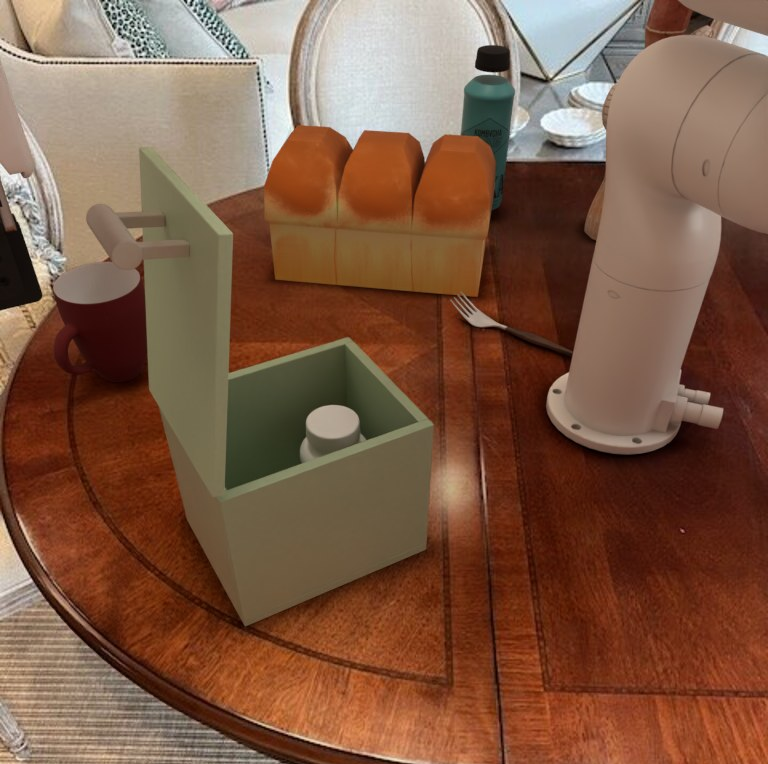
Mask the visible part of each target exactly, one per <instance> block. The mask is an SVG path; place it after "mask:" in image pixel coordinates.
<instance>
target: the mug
mask: <svg viewBox="0 0 768 764" xmlns="http://www.w3.org/2000/svg"><path fill="white" fill-rule="evenodd" d="M142 278H143V277H142V275H141V273H140V271H139V270H138V269H137V268H134V269H132V270H122V269H119V268H118V267H116V266H115V265H114V264H113V262H112V261H95V262H88V263H85V264H81V265H78V266H75V267H72V268H70V269H68V270H66V271H65V272H63V273H61V274H60V275H59V276H58V277H57V278H56V279H55V280H54V282H53V284H52V294H53V297H54V300H55V304H56V308H57V310H58V313H59V315H60V318H61V320H62V322H63V324H64V326H63V327H62V328H60V330H59V331H58V332H57V333H56V335H55V338H54V341H53V357H54V360H55V362H56V363H57V366H58V367H59V368H60V369H61V370H62V371H64V372H65V373H67V374H70V375H75V376H77V375H79V376H80V375H84V374H87V373H89V372H91V371H95V372H96V373H97V374H98V375H99V376H100V377H102V378H103V379H104V380H106V381H108V382H111V383H125V382H128V381H131V380H133V379H135V378H137V377H139V375H140V374H141V373H142V371H143V369H144V365H145V362H146V361H147V360H146V359H147V358H148V351H147V327H146V303H145V284H144V283H143V279H142ZM72 341H73V343H74V345H75V346H76V348H77V350H78V352H79V353H80V356H81V357H82V358H83V360H84V361H85V362H82V363H80V364H78V365H73V364H72V362H71V361H70V357H69V346H70V344H71V342H72Z"/></svg>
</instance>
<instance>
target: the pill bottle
mask: <svg viewBox="0 0 768 764" xmlns="http://www.w3.org/2000/svg"><path fill="white" fill-rule="evenodd" d="M364 441H367V440H366V439H365V437H364V436H363V435H362V434H361V430H360V421H359V417H358V415H357V414H356V413H355V412H354V411H353V410H351V409H350V408H348V407H345V406H341V405H328V406H323V407H320V408H317V409H315V410H314V411H312V412H311V413H310V414H309V416H308V417H307V419H306V438H305V439H304V440H303V442H302V444H301V447H300V462H301V464H302V463H305V462H308V461H311V460H313V459H316V458H319V457H322V456H325V455H327V454H330V453H333V452H336V451H339V450H341V449H344V448H347V447H350V446H353V445H355V444H358V443H361V442H364Z"/></svg>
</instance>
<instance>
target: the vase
mask: <svg viewBox="0 0 768 764" xmlns="http://www.w3.org/2000/svg"><path fill="white" fill-rule="evenodd" d="M693 12H694V10H691V9H689V8H687V7H686V6H684V5H683V4H682V3H680V2H679V1H678V0H654V1H653V3H652V6H651V10H650V12H649V15H648V18H647V21H646V24H645V27H644V49H645V48H647V47H648V46H650V45H651V44H653V43H655V42H657V41H659V40H662V39H665V38H668V37H673V36H679V35H687V29H688V26H689V24H690V20H691V18H692V14H693ZM714 32H715V31H714V30H713V28H712V27H711V26H709V25H704V26H702V27H699V28H698V29H695V30H694V31H693V32H691V33H690V34H689V35H697V36H705V37H709V38H714V34H715V33H714ZM617 83H618V81H617V82H615V83H613V85H612V86H611V87H610V89H609V91H608V92H607V94H606V96H605V100H604V102H603V105H602V108H601V120H602V126H603V127H604V130H605V131H606V127H607V118H608V111H609V106H610V102H611V99H612V96H613V93H614V90H615V88H616V85H617ZM605 176H606V171H604V176H603V180H602V182H601V184H600V186H599V188H598V190H597V192H596V194H595V196H594V198H593V200H592V202H591V205H590V206H589V209H588V212H587V215H586V217H585V223H584V229H583V232H584V234H586V235H587V236H588V237H589V238H590V239H591V240H593V241H596V240H597V236H598V230H599V225H600V220H601V214H602V207H603V200H604V191H605Z"/></svg>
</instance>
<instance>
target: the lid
mask: <svg viewBox="0 0 768 764" xmlns="http://www.w3.org/2000/svg"><path fill="white" fill-rule="evenodd" d="M138 156H139V158H138V159H139V179H140V203H141V204H140V205H141V211H120V212H119V211H118V212H115V210H114V209H113V208H112V207H111V206H110V205H108V204H106V203H96V204H93V205H92V206H91V207H89V208H88V210H87V212H86V215H85V221H86V224H87V226H88V228H89V229H90V230H91V232H92V234H93V235H94V237H95V238H96V240H97V241H98V243H99V244H100V245H101V247H102V249H103V250H104V252H105V253H106V255H107V256H108V257H109V259H110V262H113V264H114V265H115V266H116V267H118V268H119V269H122V270H132V269H134V268H135V269H137V268H138V267H139V266H140V264H141V263H142V261H143V274H144V275H143V276H144V289H145V303H146V327H147V351H148V353H147V371H148V372H147V373H148V374H147V375H148V390H149V393H150V394H151V396H152V398H153V399H154V401H155V403H156V404H157V406H158V408H159V407H160V409H161V411H162V413H163V414H164V416H165V418H166V419H167V421H168V423H169V424H170V426H171V428H172V429H173V431H174V433H175V435H176V436H177V438H178V440H179V441H180V443H181V445H182V446H183V448H184V450H185V451H186V453H187V455H188V457H189V458H190V460H191V462H192V463H193V465H194V467H195V468H196V470H197V472H198V473H199V475H200V477H201V479H202V480H203V482H204V484H205V485H206V487H207V489H208V490H209V492H210V494H211V495H212V497H218V496H222V495H224V493H225V463H226V433H227V403H228V374H229V373H230V369H229V368H230V342H231V341H230V339H231V310H232V282H233V280H232V279H233V249H234V233H233V232H232V231H231V230H230V228H229V227H228V226H226V224H225V223H224V222H223V221H222V220H221V219H220V218H219V217H218V216H217V215H216V214H215V212H214V211H213V210H212V209H211V208H210V207H209V206H208V205H207V204H206V203H205V202H204V201H203V200H202V198H200V196H199V195H197V193H196V192H195V191H194V190H193V189H192V188H191V187H190V186H189V185H188V184H187V182H186V181H185V180H184V179H183V178H182V177H181V176H180V175H179V174H178V173H177V172H176V171H175V170H174V169H173V168H172V166H170V164H169V163H168V162H167V161H166V160H165V159H164V158H163V157H162V156H161V155H160V154H159V153H158V152H157V151H156V149H154V148H153V147H152V146H140V147H139V148H138ZM130 229H141V230H142V241H137V240H136V238H135V237H134V236H133V235H132V234H131V232H130V231H129V230H130ZM160 409H159V410H160Z"/></svg>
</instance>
